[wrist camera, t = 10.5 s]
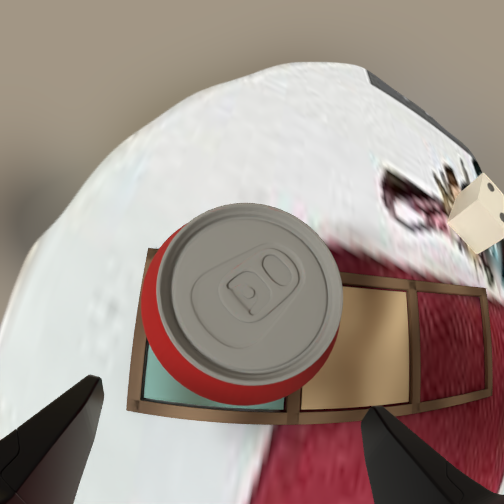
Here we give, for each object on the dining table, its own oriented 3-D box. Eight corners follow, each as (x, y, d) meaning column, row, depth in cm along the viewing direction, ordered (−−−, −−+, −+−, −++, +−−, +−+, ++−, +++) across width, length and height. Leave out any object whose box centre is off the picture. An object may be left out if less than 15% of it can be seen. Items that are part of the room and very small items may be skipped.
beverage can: (145, 329, 19) (86, 263, 8) (226, 268, 21) (263, 151, 11) (213, 413, 18) (242, 461, 7) (292, 345, 20) (400, 301, 9)
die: (476, 254, 27) (509, 234, 22) (446, 223, 28) (478, 198, 23) (483, 225, 29) (513, 204, 24) (456, 196, 30) (484, 171, 25)
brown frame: (482, 289, 25) (485, 288, 25) (489, 395, 21) (492, 395, 21) (149, 250, 21) (148, 247, 21) (127, 409, 17) (126, 410, 17)
